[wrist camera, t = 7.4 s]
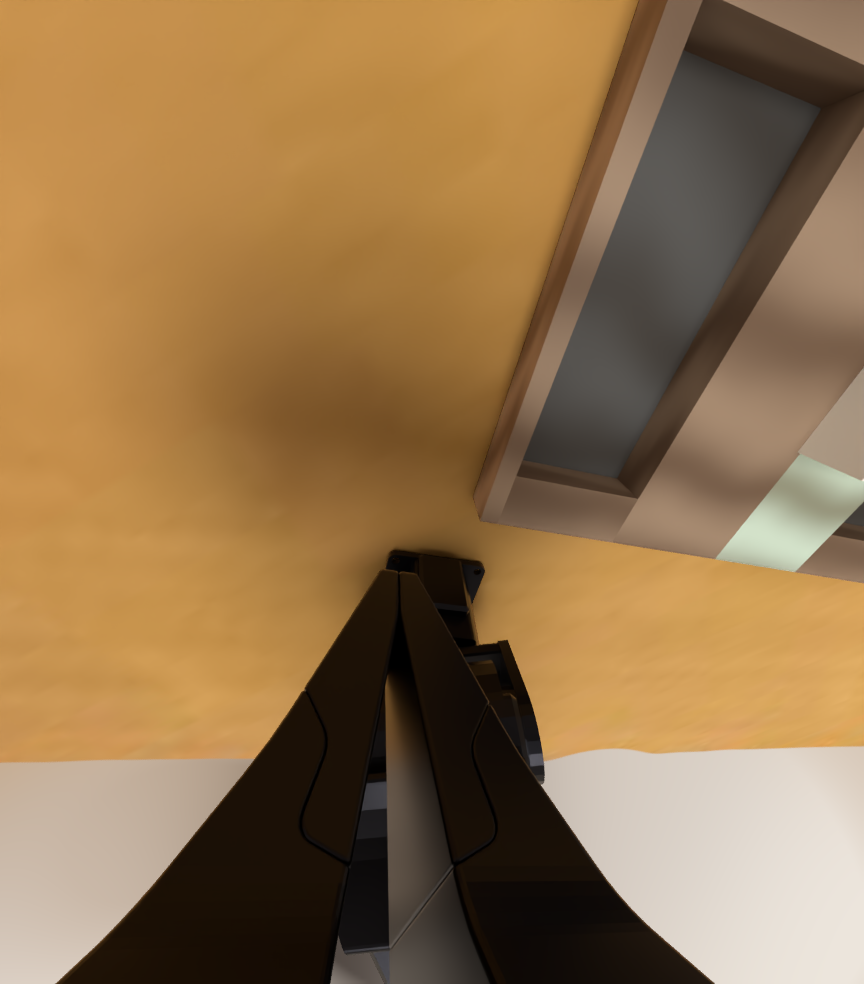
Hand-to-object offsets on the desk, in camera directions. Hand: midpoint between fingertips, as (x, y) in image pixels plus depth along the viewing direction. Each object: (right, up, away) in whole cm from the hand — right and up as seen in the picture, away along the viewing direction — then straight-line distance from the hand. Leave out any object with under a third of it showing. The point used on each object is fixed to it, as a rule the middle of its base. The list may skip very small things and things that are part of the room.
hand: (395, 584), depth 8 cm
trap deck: (+20, +9, +10) cm, 24 cm away
